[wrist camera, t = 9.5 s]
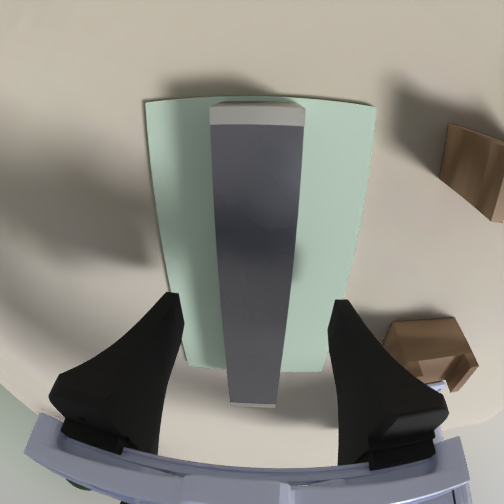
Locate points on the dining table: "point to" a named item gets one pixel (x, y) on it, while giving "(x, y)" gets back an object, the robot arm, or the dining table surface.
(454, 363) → the post
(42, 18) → the dining table surface
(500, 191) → the post
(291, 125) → the rail
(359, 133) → the mat
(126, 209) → the dining table surface
